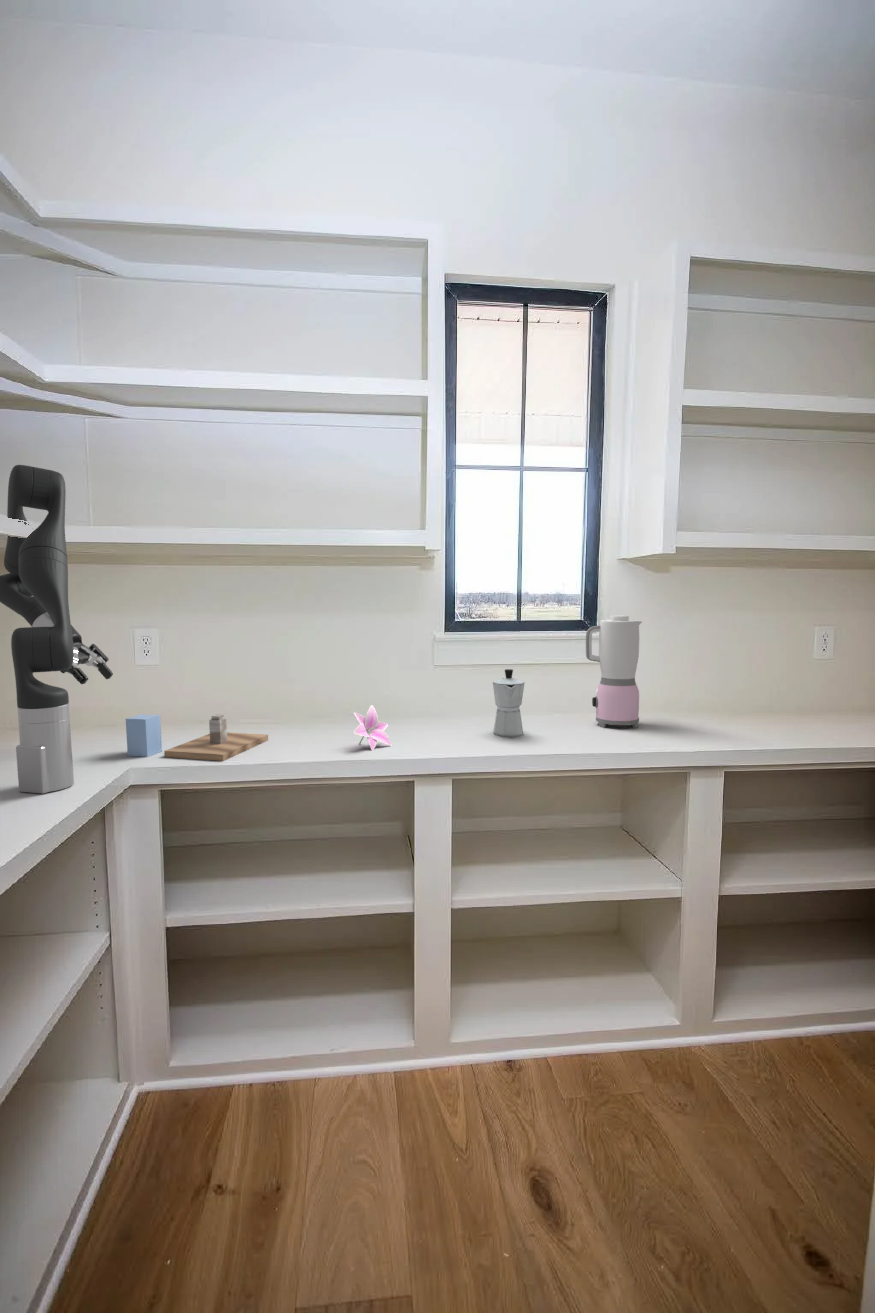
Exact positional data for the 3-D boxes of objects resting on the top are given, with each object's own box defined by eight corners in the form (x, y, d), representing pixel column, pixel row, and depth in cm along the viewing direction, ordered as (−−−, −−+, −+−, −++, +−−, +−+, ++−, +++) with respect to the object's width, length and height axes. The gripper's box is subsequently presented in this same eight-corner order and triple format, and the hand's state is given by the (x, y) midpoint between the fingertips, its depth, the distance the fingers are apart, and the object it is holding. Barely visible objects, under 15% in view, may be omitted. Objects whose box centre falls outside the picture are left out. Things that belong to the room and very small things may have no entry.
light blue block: (147, 756, 167) (145, 719, 166) (127, 755, 168) (125, 718, 167) (162, 751, 172) (160, 715, 171) (142, 750, 174) (140, 714, 173)
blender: (634, 721, 207) (637, 614, 203) (643, 729, 195) (646, 616, 191) (581, 720, 208) (583, 614, 205) (586, 729, 196) (588, 616, 193)
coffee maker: (527, 738, 185) (527, 672, 183) (494, 738, 185) (494, 672, 183) (520, 726, 200) (520, 665, 198) (490, 727, 199) (490, 665, 198)
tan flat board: (223, 761, 163) (221, 725, 162) (164, 757, 167) (162, 722, 166) (268, 740, 184) (267, 708, 183) (215, 737, 188) (213, 706, 187)
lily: (346, 756, 171) (361, 725, 168) (336, 729, 180) (351, 699, 177) (388, 765, 177) (403, 735, 173) (376, 738, 186) (391, 709, 183)
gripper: (42, 624, 165) (85, 673, 164) (86, 620, 179) (126, 665, 177) (25, 645, 167) (68, 694, 166) (70, 640, 181) (110, 685, 179)
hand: (98, 679), depth 172 cm, fingers open, 8 cm apart
